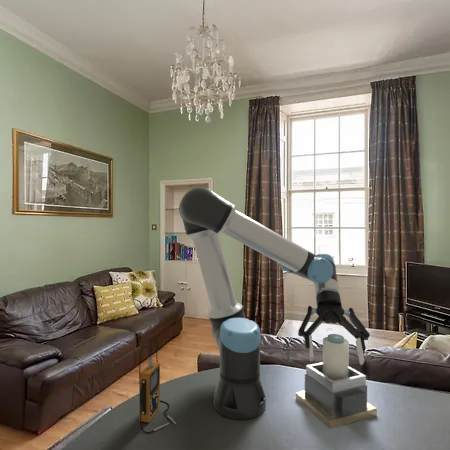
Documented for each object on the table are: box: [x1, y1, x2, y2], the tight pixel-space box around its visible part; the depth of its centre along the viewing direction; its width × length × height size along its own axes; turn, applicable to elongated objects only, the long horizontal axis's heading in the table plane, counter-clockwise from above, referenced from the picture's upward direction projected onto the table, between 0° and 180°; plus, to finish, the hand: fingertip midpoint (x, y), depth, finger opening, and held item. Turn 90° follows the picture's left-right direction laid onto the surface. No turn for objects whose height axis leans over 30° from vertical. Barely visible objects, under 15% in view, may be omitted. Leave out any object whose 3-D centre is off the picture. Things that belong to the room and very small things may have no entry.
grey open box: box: [295, 361, 378, 430], centre depth 92 cm, size 15×16×10 cm
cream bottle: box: [322, 333, 350, 381], centre depth 92 cm, size 7×7×12 cm
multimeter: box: [138, 338, 177, 434], centre depth 87 cm, size 15×10×20 cm
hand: (336, 361), depth 90 cm, fingers open, 13 cm apart
